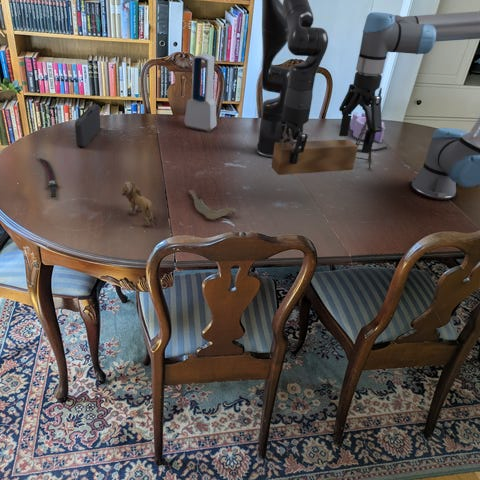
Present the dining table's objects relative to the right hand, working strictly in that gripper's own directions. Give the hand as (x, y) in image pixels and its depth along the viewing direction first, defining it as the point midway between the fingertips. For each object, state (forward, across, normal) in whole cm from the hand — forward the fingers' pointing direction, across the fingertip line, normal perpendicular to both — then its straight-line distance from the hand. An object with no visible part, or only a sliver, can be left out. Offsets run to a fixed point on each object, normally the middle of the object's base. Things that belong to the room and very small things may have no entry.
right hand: (354, 143), depth 145 cm
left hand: (+4, +1, +22) cm, 22 cm away
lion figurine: (+19, +2, +67) cm, 69 cm away
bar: (+8, +1, +13) cm, 15 cm away
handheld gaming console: (+18, +66, +76) cm, 102 cm away
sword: (+18, +32, +92) cm, 99 cm away
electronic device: (+19, +73, +30) cm, 81 cm away
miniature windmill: (+21, +28, -24) cm, 42 cm away
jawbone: (+20, +5, +44) cm, 48 cm away
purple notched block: (+21, +59, -45) cm, 77 cm away
